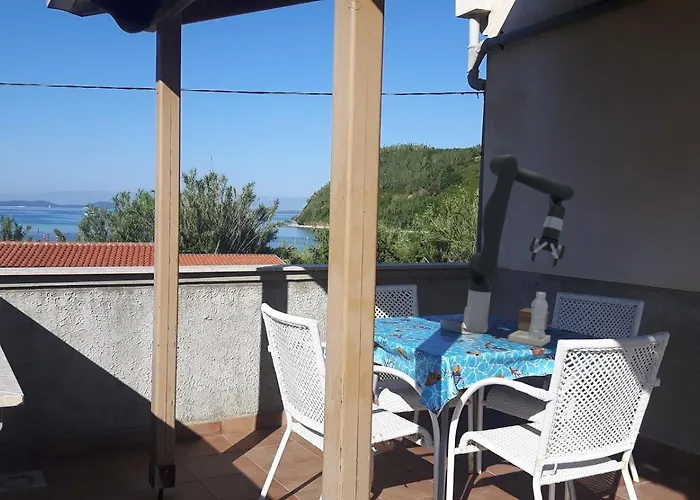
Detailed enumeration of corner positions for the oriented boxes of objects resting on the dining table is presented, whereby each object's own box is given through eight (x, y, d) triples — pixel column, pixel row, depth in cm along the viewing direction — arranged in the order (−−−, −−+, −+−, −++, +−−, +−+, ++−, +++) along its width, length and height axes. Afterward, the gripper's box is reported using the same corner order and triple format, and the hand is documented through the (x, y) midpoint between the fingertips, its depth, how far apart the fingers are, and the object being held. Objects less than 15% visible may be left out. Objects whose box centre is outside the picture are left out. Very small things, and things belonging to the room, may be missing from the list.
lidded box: (540, 333, 296) (543, 312, 296) (516, 328, 302) (518, 308, 301) (547, 329, 308) (549, 309, 307) (523, 325, 313) (526, 305, 312)
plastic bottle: (547, 343, 271) (553, 294, 270) (532, 342, 269) (538, 293, 268) (538, 339, 277) (544, 291, 276) (524, 339, 275) (529, 290, 274)
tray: (540, 347, 264) (541, 341, 264) (508, 341, 270) (508, 335, 270) (549, 341, 278) (550, 335, 278) (518, 335, 284) (519, 330, 284)
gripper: (537, 222, 289) (527, 259, 287) (570, 231, 287) (561, 268, 285) (534, 226, 296) (525, 261, 294) (566, 234, 294) (557, 270, 292)
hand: (542, 264), depth 290 cm, fingers open, 8 cm apart
